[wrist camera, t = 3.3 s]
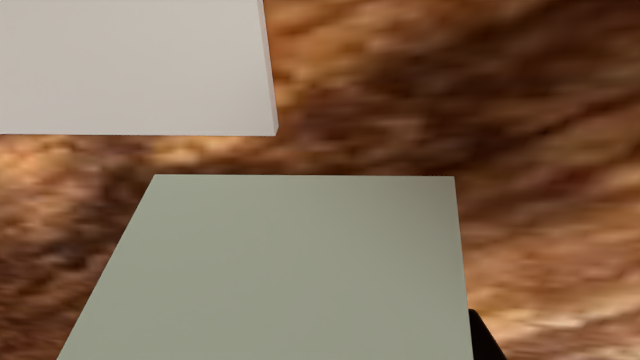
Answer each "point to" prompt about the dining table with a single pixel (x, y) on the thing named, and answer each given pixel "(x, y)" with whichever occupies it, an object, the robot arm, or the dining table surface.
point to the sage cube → (283, 272)
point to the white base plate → (135, 68)
